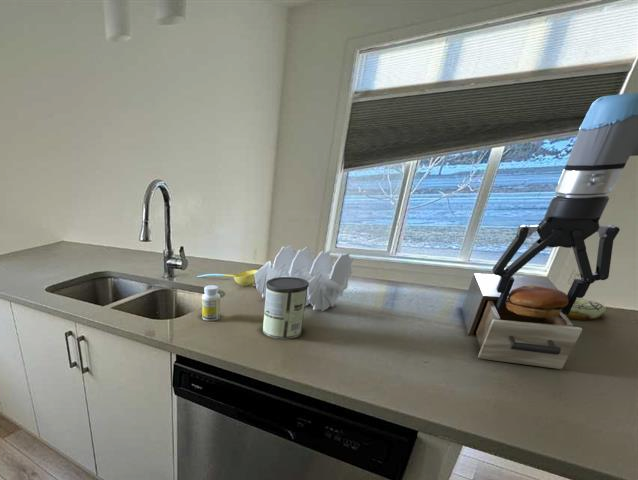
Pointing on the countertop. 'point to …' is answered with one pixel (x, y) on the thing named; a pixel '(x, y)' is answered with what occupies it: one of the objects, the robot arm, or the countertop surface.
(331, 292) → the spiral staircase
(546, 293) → the burger
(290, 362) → the countertop surface
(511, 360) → the drawer
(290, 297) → the coffee can
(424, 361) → the countertop surface
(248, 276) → the ladle
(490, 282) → the cabinet
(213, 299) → the supplement bottle
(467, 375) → the countertop surface
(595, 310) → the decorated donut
